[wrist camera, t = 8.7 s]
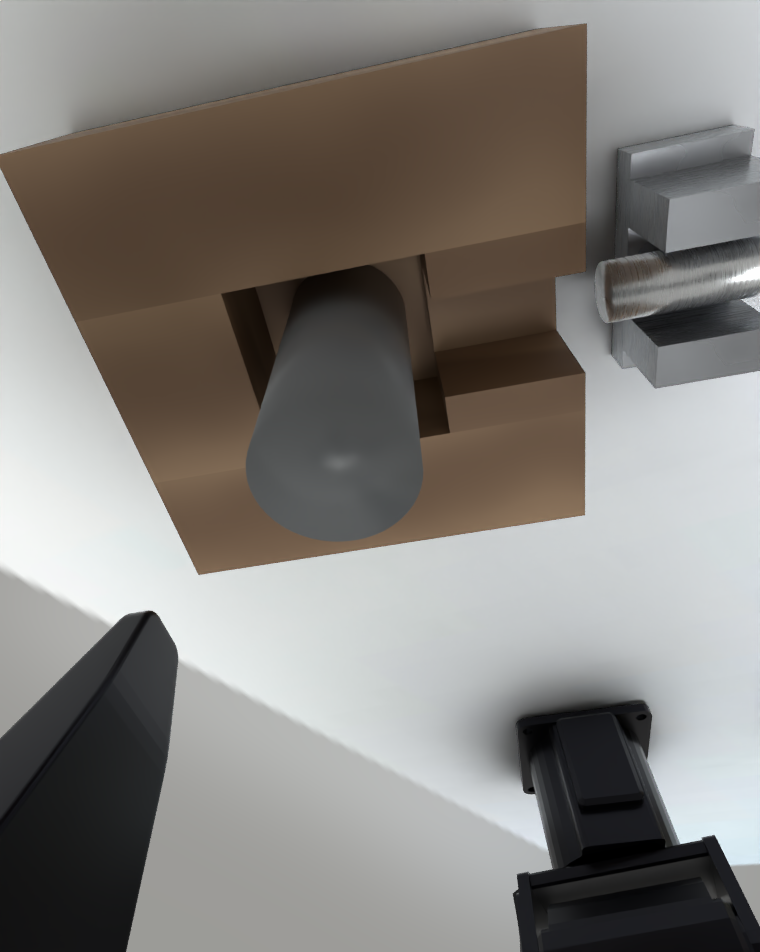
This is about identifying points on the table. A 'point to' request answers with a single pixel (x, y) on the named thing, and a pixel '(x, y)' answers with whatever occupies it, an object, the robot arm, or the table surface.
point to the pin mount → (683, 227)
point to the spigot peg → (339, 412)
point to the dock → (332, 249)
